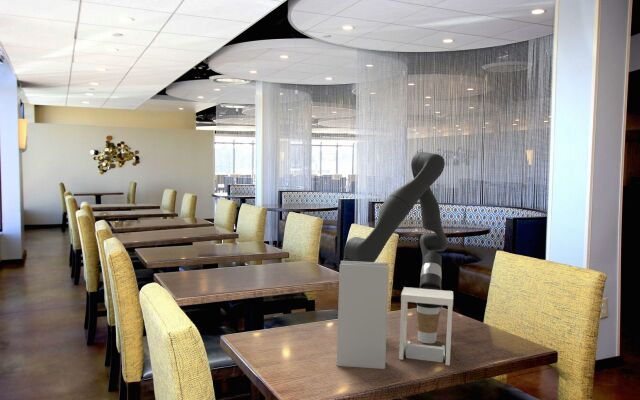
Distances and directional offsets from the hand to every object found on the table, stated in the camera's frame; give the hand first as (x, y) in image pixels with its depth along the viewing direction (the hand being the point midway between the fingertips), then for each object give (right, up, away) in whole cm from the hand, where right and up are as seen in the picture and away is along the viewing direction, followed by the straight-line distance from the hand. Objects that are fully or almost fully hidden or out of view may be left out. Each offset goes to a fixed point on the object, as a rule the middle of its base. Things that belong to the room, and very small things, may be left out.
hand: (428, 319), depth 179 cm
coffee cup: (-2, -6, -5) cm, 8 cm away
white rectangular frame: (-5, -7, -19) cm, 20 cm away
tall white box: (-26, -7, -27) cm, 38 cm away
